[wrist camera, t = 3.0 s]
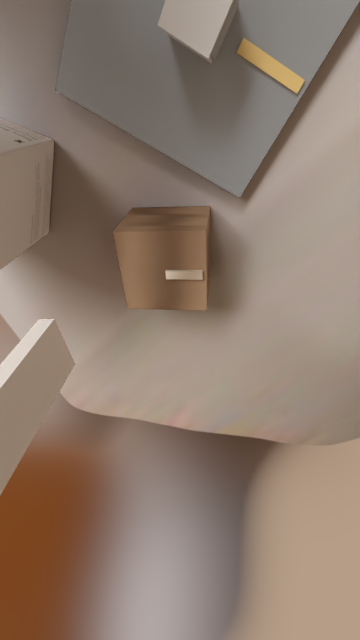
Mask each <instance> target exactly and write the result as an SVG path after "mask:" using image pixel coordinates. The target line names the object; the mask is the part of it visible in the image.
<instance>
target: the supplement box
mask: <svg viewBox="0 0 360 640" xmlns="http://www.w3.org/2000/svg"><path fill="white" fill-rule="evenodd" d="M53 156H54V141H53V140H52V139H50V138H48V137H45V136H43V135H41V134H38V133H36V132H33V131H31V130H28V129H26V128H23V127H21V126H18V125H16V124H13V123H10V122H8V121H5V120H3V119H0V269H2V268H3V267H4V266H6V265H7V264H8V263H10V262H11V261H12V260H14V259H15V258H16V257H18V256H19V255H20V254H22V253H23V252H24V251H25V250H27V249H28V248H29V247H31V246H32V245H33V244H35V243H36V242H37V241H39V240H40V239H41V238H43V237H44V236H45V235H47V234H48V233H49V222H50V205H51V188H52V173H53Z"/></svg>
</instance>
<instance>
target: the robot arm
mask: <svg viewBox="0 0 360 640" xmlns="http://www.w3.org/2000/svg"><path fill="white" fill-rule="evenodd" d="M74 365H75V363H74V361H73V359H72V356H71V354H70V352H69V350H68V348H67V345H66V343H65V341H64V339H63V337H62V334H61V332H60V330H59V328H58V326H57V323H56V321H55V319H39V320H38V321H37V322H36V323H35V324H34V326H33V327H32V328H31V329H30V330H29V332H28V333H27V334H26V335H25V336H24V337H23V339H22V340H21V341H20V342H19V343H18V345H17V346H16V347H15V348H14V349H13V350H12V352H11V353H10V354H9V355H8V356H7V358H6V359H5V360H4V361H3V362H2V364H1V365H0V495H1V493H2V491H3V490H4V488H5V486H6V484H7V483H8V481H9V479H10V477H11V475H12V474H13V472H14V470H15V468H16V467H17V465H18V463H19V461H20V460H21V458H22V456H23V454H24V453H25V451H26V449H27V447H28V446H29V444H30V442H31V440H32V439H33V437H34V435H35V433H36V432H37V430H38V428H39V426H40V425H41V423H42V421H43V419H44V418H45V416H46V414H47V412H48V411H49V409H50V407H51V405H52V404H53V402H54V400H55V398H56V396H57V395H58V393H59V391H60V390H61V388H62V386H63V384H64V383H65V381H66V379H67V377H68V376H69V374H70V372H71V370H72V369H73V367H74Z"/></svg>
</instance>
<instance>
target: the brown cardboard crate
mask: <svg viewBox="0 0 360 640" xmlns="http://www.w3.org/2000/svg"><path fill="white" fill-rule="evenodd" d="M113 236H114V241H115V247H116V252H117V257H118V262H119V267H120V272H121V277H122V282H123V287H124V292H125V297H126V302H127V307H128V309H166V310H206V311H207V303H208V294H209V284H210V206H194V207H149V208H132V209H131V210H130V211H129V212H128V214H127V215H126V216H125V217H124V218H123V220H122V221H121V222H120V223H119V225H118V226H117V227H116V228H115V229H114V231H113Z"/></svg>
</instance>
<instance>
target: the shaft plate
mask: <svg viewBox="0 0 360 640" xmlns="http://www.w3.org/2000/svg"><path fill="white" fill-rule="evenodd" d="M359 1H360V0H71V5H70V10H69V16H68V21H67V27H66V32H65V38H64V43H63V49H62V54H61V60H60V66H59V71H58V77H57V82H56V88H55V91H57V92H59V93H60V94H62V95H64V96H65V97H67V98H69V99H71V100H72V101H74V102H76V103H77V104H79V105H81V106H83V107H84V108H86V109H88V110H89V111H91V112H93V113H95V114H96V115H98V116H100V117H101V118H103V119H105V120H107V121H108V122H110V123H112V124H113V125H115V126H117V127H119V128H120V129H122V130H124V131H125V132H127V133H129V134H131V135H132V136H134V137H136V138H137V139H139V140H141V141H143V142H144V143H146V144H148V145H149V146H151V147H153V148H155V149H156V150H158V151H160V152H161V153H163V154H165V155H167V156H168V157H170V158H172V159H173V160H175V161H177V162H179V163H180V164H182V165H184V166H185V167H187V168H189V169H191V170H192V171H194V172H196V173H197V174H199V175H201V176H203V177H204V178H206V179H208V180H209V181H211V182H213V183H215V184H216V185H218V186H220V187H221V188H223V189H225V190H227V191H228V192H230V193H232V194H233V195H235V196H237V197H239V198H240V196H241V195H242V193H243V191H244V190H245V188H246V187H247V185H248V183H249V182H250V180H251V178H252V177H253V175H254V173H255V172H256V170H257V168H258V167H259V165H260V164H261V162H262V160H263V159H264V157H265V155H266V154H267V152H268V150H269V149H270V147H271V146H272V144H273V142H274V141H275V139H276V137H277V136H278V134H279V132H280V131H281V129H282V128H283V126H284V124H285V123H286V121H287V119H288V118H289V116H290V114H291V113H292V111H293V110H294V108H295V106H296V105H297V103H298V101H299V100H300V98H301V96H302V95H303V93H304V92H305V90H306V88H307V87H308V85H309V83H310V82H311V80H312V78H313V77H314V75H315V73H316V72H317V70H318V69H319V67H320V65H321V64H322V62H323V60H324V59H325V57H326V55H327V54H328V52H329V51H330V49H331V47H332V46H333V44H334V42H335V41H336V39H337V37H338V36H339V34H340V33H341V31H342V29H343V28H344V26H345V24H346V23H347V21H348V19H349V18H350V16H351V15H352V13H353V11H354V10H355V8H356V6H357V5H358V3H359Z"/></svg>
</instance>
